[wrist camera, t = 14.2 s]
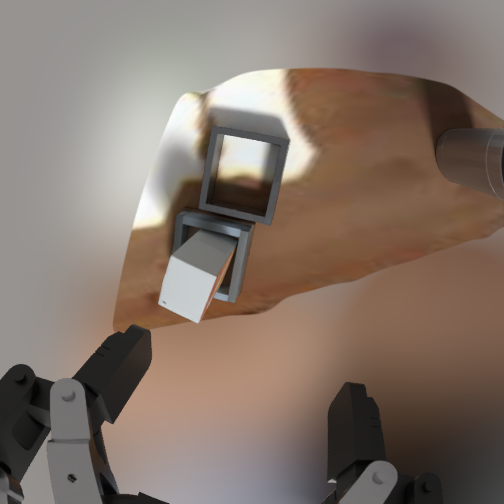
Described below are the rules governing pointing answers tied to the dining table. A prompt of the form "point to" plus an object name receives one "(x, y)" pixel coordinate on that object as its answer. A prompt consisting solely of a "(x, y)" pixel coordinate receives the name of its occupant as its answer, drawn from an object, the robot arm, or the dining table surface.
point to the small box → (196, 273)
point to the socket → (212, 168)
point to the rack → (232, 227)
